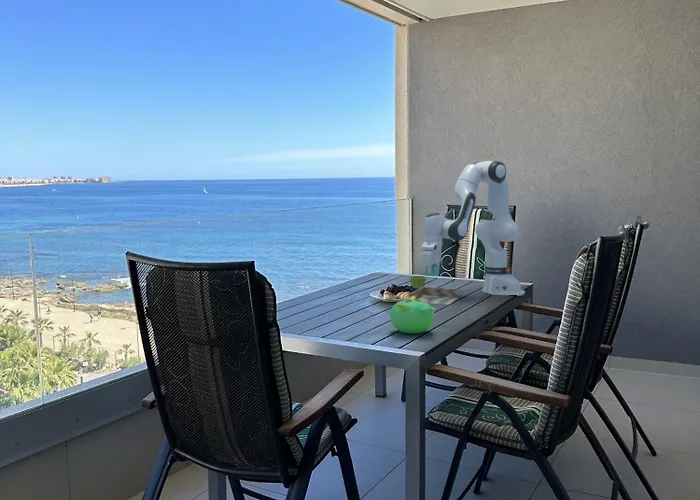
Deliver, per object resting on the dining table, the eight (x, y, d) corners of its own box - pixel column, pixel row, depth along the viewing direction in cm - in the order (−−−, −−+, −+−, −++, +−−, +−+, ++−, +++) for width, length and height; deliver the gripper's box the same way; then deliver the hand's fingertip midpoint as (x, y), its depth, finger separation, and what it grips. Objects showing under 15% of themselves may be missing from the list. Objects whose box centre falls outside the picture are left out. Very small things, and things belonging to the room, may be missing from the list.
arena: (459, 299, 328) (459, 289, 328) (448, 306, 310) (448, 296, 310) (422, 296, 336) (422, 286, 336) (409, 303, 318) (409, 293, 318)
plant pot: (426, 291, 350) (426, 275, 349) (426, 294, 341) (426, 278, 340) (409, 291, 351) (409, 275, 350) (409, 294, 342) (409, 278, 341)
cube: (428, 274, 327) (428, 264, 327) (438, 275, 325) (438, 265, 325) (425, 275, 323) (425, 265, 322) (435, 276, 321) (435, 266, 320)
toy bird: (430, 327, 268) (431, 293, 266) (437, 338, 251) (438, 301, 249) (388, 328, 267) (388, 293, 266) (392, 338, 251) (392, 301, 249)
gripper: (432, 243, 333) (432, 269, 335) (420, 246, 315) (419, 274, 316) (444, 243, 331) (443, 270, 332) (432, 247, 312) (431, 275, 314)
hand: (431, 272), depth 324 cm, fingers closed on cube, 5 cm apart
